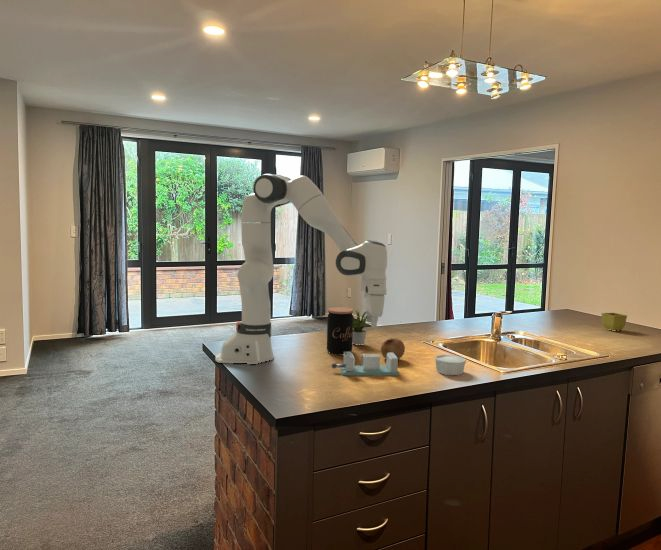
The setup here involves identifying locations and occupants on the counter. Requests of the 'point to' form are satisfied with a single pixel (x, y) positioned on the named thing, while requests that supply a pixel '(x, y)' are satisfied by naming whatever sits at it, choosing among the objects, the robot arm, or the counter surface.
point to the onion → (393, 347)
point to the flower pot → (613, 321)
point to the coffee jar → (339, 330)
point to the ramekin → (450, 364)
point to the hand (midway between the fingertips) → (371, 324)
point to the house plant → (359, 329)
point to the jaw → (346, 362)
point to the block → (370, 362)
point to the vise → (384, 370)
